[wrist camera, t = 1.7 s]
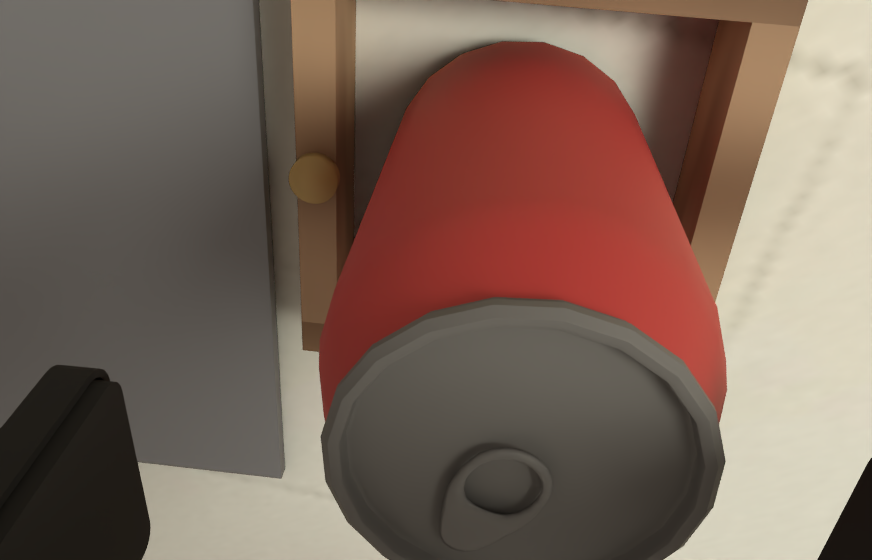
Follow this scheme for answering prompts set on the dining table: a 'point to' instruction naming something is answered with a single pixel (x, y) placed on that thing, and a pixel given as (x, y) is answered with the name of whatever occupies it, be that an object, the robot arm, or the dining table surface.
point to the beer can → (522, 330)
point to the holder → (729, 3)
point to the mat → (142, 220)
